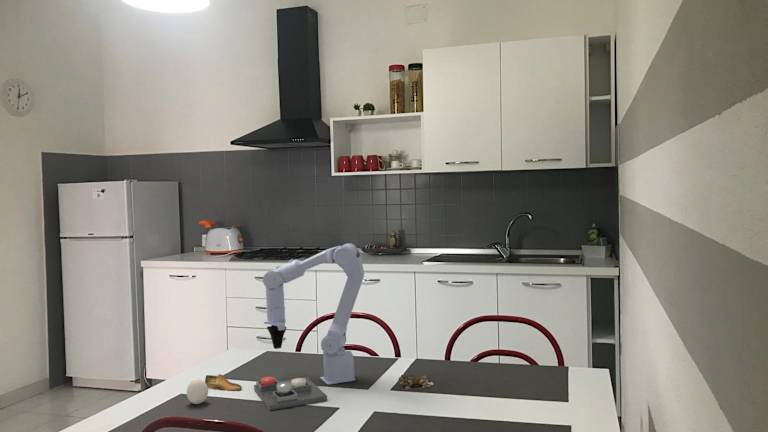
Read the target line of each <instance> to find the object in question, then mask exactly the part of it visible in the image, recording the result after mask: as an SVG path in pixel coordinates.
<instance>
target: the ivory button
mask: <svg viewBox="0 0 768 432" xmlns="http://www.w3.org/2000/svg"><path fill="white" fill-rule="evenodd" d="M291 379H292V380H291V383H292V387H298V386H304V385H306V379H304V378H302V377H297V378H296V377H295V378H291Z"/></svg>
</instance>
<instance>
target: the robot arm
mask: <svg viewBox="0 0 768 432" xmlns="http://www.w3.org/2000/svg"><path fill="white" fill-rule="evenodd" d="M323 263H331V264H334V263H335V264H336V265H337V266H339V267H340V268H341V269H342V270H343V272H344V273H345V275H346V276H347V278H346V282H345V285H344V287H343V289H342V290H343V291H342V293H341V296H340V299H339V302H338V305H337V308H336V311H335V314H334V316H333V320H332V322H331V325H330V326H329V329H328V330H327V333H326V335H325V336H324V337H323V338H322V339H321V343H320V348H321V350H322V357H323V363H322V364H323V376H320V377H319V379H320V380H322V382H324V383H325V384H326V385H328V386H329V385H335V384H341V383H347V382H354V381H356V377H355V359H354V355H353V353H352V351H351V350H346V349H345V347H344V346H345V345H346V342H347V335H346V334H347V330H348V324H349V321H350V318H351V317H352V312H353V310H354V307H355V304H356V300H357V298H358V295H359V291H360V288H361V286H362V284H363V280H364V277H365V270H364V266H363V260H362V253H361V252H360V251H359V249H358V247H357V246H356V245H355V244H353V243H350V242H348V243H344V244H343V245H338V246H333V247H331V248H330V247H329V248H328V249H325V250H323V251H321V252H318V253H317V254H314V255H312V256H310V257H308V258H306V259H305V260H299V259H293V258H292V259H290V260H288V261H287V263H285V264H282V265H281V266H280V265H277V266H275V269H272V270H268V271H267V272H266V273H265V274H264V275H263V277H262V283H263V285H264V286H265V299H266V320H263V324H264V325H269V326H266V329H267V331H268V333H269V335H270V338H271V342H272V346H273V349H276V350H277V349H281V348H282V345H283V339H284V336H285V332H286V330H287V326H286V322H287V319H286V312H285V311H286V309H285V293H284V292H285V291H284V284H288V283H290V282H292V281H295V280H297V279H299V278H301V277H303V276H304V275H305V272H306V270H309V269H311V268H314V267H316V266H319V265H321V264H323Z"/></svg>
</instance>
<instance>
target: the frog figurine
mask: <svg viewBox="0 0 768 432" xmlns="http://www.w3.org/2000/svg"><path fill="white" fill-rule="evenodd" d="M398 380H399V381H398V382H399V384H400V385H407V386H405V387H404V388H405V390H408V389H412V387H420V386H421V387H422V388H429V387H431V386H433V385H434V382H433V381H431V382H429V380H428V379H427V375H425V374H424V375H422V376H419V377H418V376H416V375H413V374H408V375H403V374H401V375H400V376H399V377H398ZM411 386H412V387H411Z"/></svg>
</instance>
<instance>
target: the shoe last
mask: <svg viewBox="0 0 768 432" xmlns="http://www.w3.org/2000/svg"><path fill="white" fill-rule="evenodd" d="M204 382H205V383H206V385H207V387H208V389H220V390H224V391H225V390H227V392H235V391H241V389H242V388H243V386H242V385H241V384H238V383H235V382H230V381H229V380H228V379H227V378H225V376H223V374H222V373H219V374H218V375H210V374H209V375H206V376H205V379H204Z"/></svg>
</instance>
